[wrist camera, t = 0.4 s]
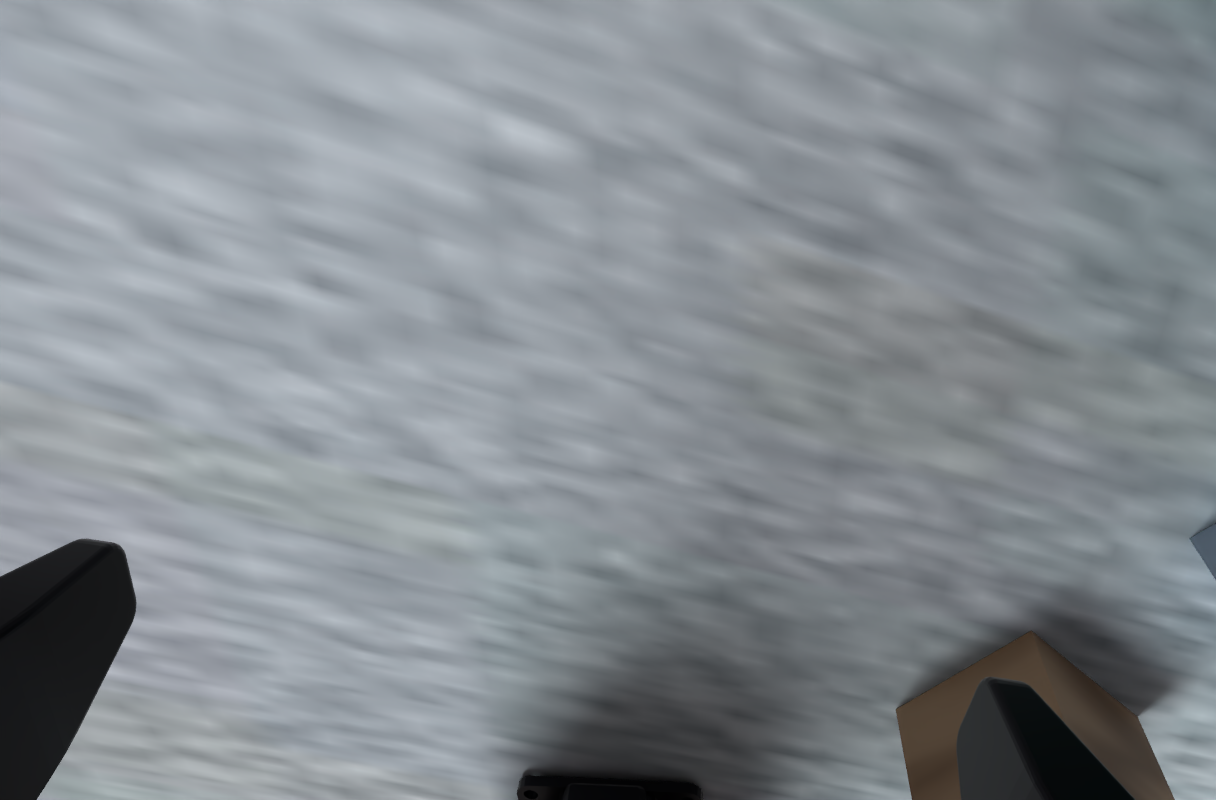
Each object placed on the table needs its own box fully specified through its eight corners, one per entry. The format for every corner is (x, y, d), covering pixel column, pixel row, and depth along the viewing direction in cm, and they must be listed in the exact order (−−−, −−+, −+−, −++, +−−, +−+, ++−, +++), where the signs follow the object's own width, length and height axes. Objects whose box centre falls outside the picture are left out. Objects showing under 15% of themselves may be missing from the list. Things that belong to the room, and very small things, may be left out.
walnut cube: (1136, 714, 28) (1207, 873, 24) (998, 783, 30) (1041, 938, 26) (1030, 628, 27) (1086, 779, 22) (895, 707, 29) (922, 857, 25)
